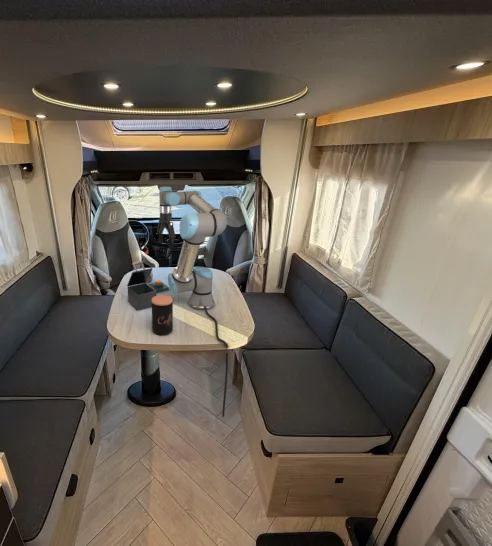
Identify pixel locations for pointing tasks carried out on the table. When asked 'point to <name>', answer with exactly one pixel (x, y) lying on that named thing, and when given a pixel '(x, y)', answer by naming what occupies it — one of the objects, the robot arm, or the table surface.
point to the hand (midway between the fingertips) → (166, 245)
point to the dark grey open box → (141, 296)
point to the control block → (159, 287)
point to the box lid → (139, 275)
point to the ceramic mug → (150, 278)
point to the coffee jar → (162, 314)
